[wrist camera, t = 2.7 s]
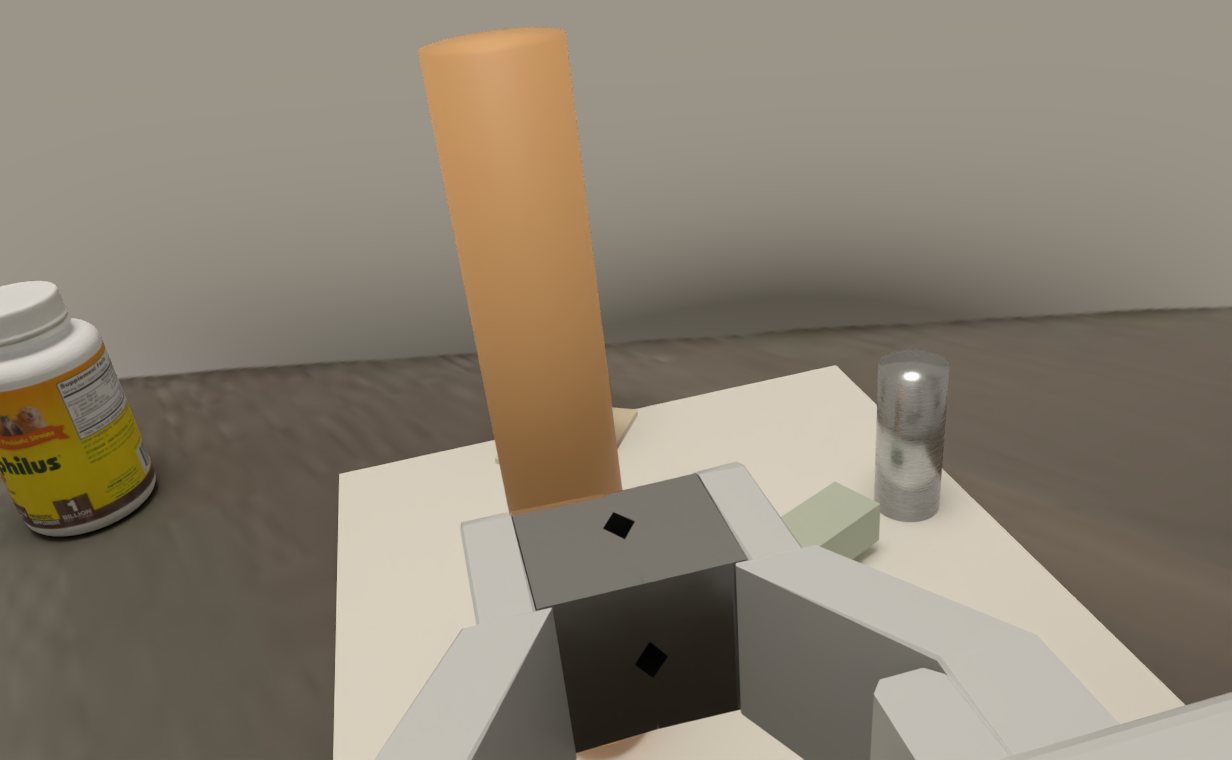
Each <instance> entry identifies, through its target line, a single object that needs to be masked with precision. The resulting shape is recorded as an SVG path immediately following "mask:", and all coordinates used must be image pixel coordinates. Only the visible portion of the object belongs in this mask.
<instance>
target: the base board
mask: <svg viewBox="0 0 1232 760" xmlns="http://www.w3.org/2000/svg"><path fill="white" fill-rule="evenodd" d="M635 410H637V411H638V416H637V418H636V419H635V421H634V423H633V424H632V426H631V428H630V429H629V431H628V433H627V434H626V436H625V438H624V439H623V441H622V443H621V444H620V446H619V448H618V449H617V450H618V458H619V466H620V474H621V482H622V490H625V489H630V488H634V487H638V486H642V485H647V484H651V483H655V482H660V481H664V480H668V479H672V478H677V477H681V476H685V475H690V474H693V473H694V472H698V471H701V470H705V469H709V468H713V467H717V466H721V465H725V464H729V463H733V462H738V463H741V464H743V465H744V466H745V467H746V469H747V470H748V472H749V473H750V474H751V476H752V477H753V479H754V480H755V482H756V483H757V484H758V486H759V487H760V489H761V490H762V491H763V493H764V494H765V496H766V497H767V498H768V500H769V501H770V503H771V504H772V506H773V507H774V508H775V510H776V511H777V513H778V514H779V515H780V517H781V516H783V515H785V514H786V513H788V512H789V511H791V510H792V509H794V508H795V507H797V506H798V505H800V504H801V503H803V502H804V501H806V500H807V499H809V498H810V497H812V496H813V495H815V494H817V493H818V492H820V491H821V490H823V489H824V488H826V487H827V486H829V485H830V484H832V483H833V482H837V483H839V484H841V485H843V486H845V487H847V488H849V489H851V490H853V491H855V492H857V493H859V494H861V495H863V496H866V497H868V498H870V499H872V500H874V483H875V451H876V420H877V405H876V404H875V403H874V402H873V401H872V400H871V399H870V398H869V397H868V396H867V395H866V394H865V393H864V392H863V391H862V390H861V389H860V388H859V387H858V386H856V385H855V384H854V383H853V382H852V381H851V380H850V379H849V378H848V377H847V376H846V375H845V374H844V373H843V372H842V371H841V370H840V369H839V368H838V367H837V366H836V365H835V366H830V367H826V368H821V369H817V370H812V371H807V372H803V373H798V374H794V375H789V376H785V377H780V378H776V379H771V380H766V381H762V382H757V383H753V384H748V385H744V386H739V387H734V388H730V389H725V390H721V391H716V392H712V393H707V394H703V395H698V396H693V397H689V398H684V399H680V400H675V401H671V402H666V403H662V404H657V405H652V406H648V407H643V408H639V409H635ZM496 456H497V449H496V444H495V440H493V441H488V442H484V443H479V444H475V445H470V446H465V447H461V448H456V449H452V450H447V451H443V452H438V453H434V454H429V455H424V456H420V457H415V458H411V459H406V460H402V461H397V462H393V463H388V464H383V465H379V466H374V467H370V468H365V469H361V470H356V471H351V472H347V473H342V474H339V515H338V562H337V609H336V656H335V702H334V749H333V760H375V758H376V757H377V755H378V754H379V752H380V751H381V749H382V748H383V746H384V745H385V743H386V742H387V740H388V739H389V737H390V736H391V734H392V733H393V731H394V730H395V728H396V727H397V725H398V724H399V722H400V721H401V719H402V718H403V716H404V715H405V713H406V712H407V710H408V709H409V707H410V706H411V704H412V703H413V701H414V700H415V698H416V697H417V695H418V694H419V692H420V691H421V689H422V688H423V686H424V685H425V683H426V682H427V680H428V679H429V677H430V676H431V674H432V673H433V671H434V670H435V668H436V667H437V665H438V664H439V662H440V661H441V659H442V658H443V656H444V655H445V653H446V652H447V650H448V649H449V647H450V646H451V644H452V643H453V641H454V640H455V638H456V637H457V635H458V634H459V632H460V631H461V629H463V628H467V627H471V626H475V625H476V620H475V614H474V608H473V602H472V596H471V591H470V585H469V579H468V573H467V567H466V561H465V555H464V549H463V543H462V537H461V531H460V528H461V522H465V521H469V520H474V519H478V518H483V517H487V516H492V515H497V514H501V513H506V512H507V513H508V514H509V510H508V505H507V500H506V495H505V490H504V485H503V480H502V475H501V470H500V465H499V464H496V463H495V457H496ZM852 560H854V561H856V562H859V563H861V564H864V565H866V566H869V567H871V568H874V569H876V570H879V571H881V572H883V573H886V574H888V575H891V576H893V577H896V578H898V579H901V580H903V581H906V582H908V583H911V584H913V585H915V586H918V587H920V588H923V589H925V590H928V591H930V592H933V593H935V594H938V595H940V596H942V597H945V598H947V599H950V600H952V601H955V602H957V603H960V604H962V605H965V606H967V607H969V608H972V609H974V610H977V611H979V612H982V613H984V614H987V615H989V616H992V617H994V618H996V619H999V620H1001V621H1004V622H1006V623H1009V624H1011V625H1014V626H1016V627H1019V628H1021V629H1024V630H1026V631H1028V632H1031V633H1033V634H1036V635H1037V636H1038V637H1039V638H1040V639H1041V640H1042V641H1043V642H1044V643H1045V644H1046V645H1047V646H1048V648H1049V649H1050V650H1051V651H1052V652H1053V653H1054V654H1055V655H1056V656H1057V657H1058V658H1059V659H1060V660H1061V661H1062V663H1063V664H1064V665H1065V666H1066V667H1067V668H1068V669H1069V670H1070V671H1071V672H1072V673H1073V674H1074V675H1075V676H1076V678H1077V679H1078V680H1079V681H1080V682H1081V683H1082V684H1083V685H1084V686H1085V687H1086V688H1087V689H1088V690H1089V692H1090V693H1091V694H1092V695H1093V696H1094V697H1095V698H1096V699H1097V700H1098V701H1099V702H1100V703H1101V704H1102V705H1103V707H1104V708H1105V709H1106V710H1107V711H1108V712H1109V713H1110V714H1111V715H1112V716H1113V717H1114V718H1115V719H1116V720H1117V722H1118V723H1119V724H1123V723H1127V722H1130V721H1133V720H1137V719H1140V718H1144V717H1147V716H1151V715H1154V714H1158V713H1161V712H1165V711H1168V710H1172V709H1175V708H1179V707H1182V706H1185V704H1184V703H1183V702H1182V701H1181V700H1180V699H1178V698H1177V697H1176V696H1175V695H1174V694H1173V693H1172V692H1171V691H1170V690H1169V689H1168V688H1167V687H1166V686H1165V685H1164V684H1163V683H1162V682H1161V681H1160V680H1159V679H1158V678H1157V677H1156V676H1155V675H1154V674H1153V673H1152V672H1151V671H1150V670H1149V669H1148V668H1147V667H1146V666H1145V665H1144V664H1142V663H1141V662H1140V661H1139V660H1138V659H1137V658H1136V657H1135V656H1134V655H1133V654H1132V653H1131V652H1130V651H1129V650H1128V649H1127V648H1126V647H1125V646H1124V645H1123V644H1122V643H1121V642H1120V641H1119V640H1118V639H1117V638H1116V637H1115V636H1114V635H1113V634H1112V633H1111V632H1110V631H1109V630H1108V629H1106V628H1105V627H1104V626H1103V625H1102V624H1101V623H1100V622H1099V621H1098V620H1097V619H1096V618H1095V617H1094V616H1093V615H1092V614H1091V613H1090V612H1089V611H1088V610H1087V609H1086V608H1085V607H1084V606H1083V605H1082V604H1081V603H1080V602H1079V601H1078V600H1077V599H1076V598H1075V597H1074V596H1073V595H1072V594H1070V593H1069V592H1068V591H1067V590H1066V589H1065V588H1064V587H1063V586H1062V585H1061V584H1060V583H1059V582H1058V581H1057V580H1056V579H1055V578H1054V577H1053V576H1052V575H1051V574H1050V573H1049V572H1048V571H1047V570H1046V569H1045V568H1044V567H1043V566H1042V565H1041V564H1040V563H1039V562H1038V561H1037V560H1035V559H1034V558H1033V557H1032V556H1031V555H1030V554H1029V553H1028V552H1027V551H1026V550H1025V549H1024V548H1023V547H1022V546H1021V545H1020V544H1019V543H1018V542H1017V541H1016V540H1015V539H1014V538H1013V537H1012V536H1011V535H1010V534H1009V533H1008V532H1007V531H1006V530H1005V529H1004V528H1003V527H1002V526H1001V525H999V524H998V523H997V522H996V521H995V520H994V519H993V518H992V517H991V516H990V515H989V514H988V513H987V512H986V511H985V510H984V509H983V508H982V507H981V506H980V505H979V504H978V503H977V502H976V501H975V500H974V499H973V498H972V497H971V496H970V495H969V494H968V493H967V492H966V491H965V490H963V489H962V488H961V487H960V486H959V485H958V484H957V483H956V482H955V481H954V480H953V479H952V478H951V477H950V476H949V475H948V474H947V473H946V472H945V471H944V470H943V469H942V476H941V490H940V503H939V510H938V512H937V513H936V514H935V515H934V516H933V517H931V518H929V519H927V520H924V521H920V522H901V521H896V520H893V519H890V518H888V517H886V516H884V515H883V514H881V513H880V526H879V540H878V541H877V542H876V543H874V544H873V545H872V546H870V547H869V548H868V549H866V550H865V551H863V552H862V553H861V554H859V555H858V556H857V557H855V558H854V559H852ZM576 757H577V759H576V760H804V759H803V758H801V757H800V756H798V755H797V754H796V753H794V752H793V751H792V750H790V749H789V748H787V747H786V746H785V745H783V744H782V743H781V742H779V741H778V740H777V739H775V738H774V737H772V736H771V735H770V734H768V733H767V732H766V731H764V730H763V729H761V728H760V727H759V726H757V725H756V724H755V723H753V722H752V721H750V720H749V719H748V718H746V717H745V716H744V715H742V714H741V710H737V711H733V712H729V713H724V714H720V715H716V716H712V717H707V718H703V719H699V720H695V721H690V722H686V723H682V724H678V725H673V726H669V727H665V728H661V729H657V730H653V731H650V732H646V733H643V734H640V735H636V736H633V737H629V738H626V739H623V740H621V741H619V742H616V743H614V744H610V745H606V746H600V747H596V748H592V749H589V750H585V751H582V752H579V753H576Z"/></svg>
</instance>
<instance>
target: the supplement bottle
mask: <svg viewBox="0 0 1232 760" xmlns="http://www.w3.org/2000/svg"><path fill="white" fill-rule="evenodd" d="M0 476H1V477H2V480H3V482H4V483H5V485H6V487H7V489H8V491H9V494H10V496H11V497H12V499H13V501H14V503H15V505H16V507H17V509H18V511H19V513H20V515H21V517H22V519H23V520H24V522H25V523H26V525H27V526H28V527H29V528H31V529H32V530H33V531H35V532H37V533H40V534H43V535H48V536H73V535H79V534H83V533H87V532H91V531H95V530H98V529H101V528H103V527H106V526H108V525H110V524H113V523H115V522H117V521H119V520H120V519H122V518H124V517H125V516H127V515H129V514H130V513H132V512H133V511H134V510H136V509H137V508H138V507H139V506H140V505H141V504H142V503H143V502H144V501H145V500H146V499H147V498H148V497H149V495H150V494H151V492H152V490H153V488H154V485H155V481H156V474H155V470H154V467H153V465H152V462H151V459H150V457H149V454H148V452H147V449H146V446H145V444H144V442H143V439H142V436H141V434H140V432H139V429H138V427H137V424H136V422H135V419H134V417H133V414H132V412H131V409H130V407H129V404H128V402H127V400H126V397H125V394H124V392H123V389H122V387H121V385H120V382H119V380H118V377H117V375H116V372H115V370H114V367H113V365H112V363H111V360H110V358H109V355H108V353H107V351H106V348H105V346H104V343H103V340H102V338H101V336H100V334H99V332H98V330H97V329H96V328H95V327H94V326H93V325H91V324H90V323H88V322H86V321H83V320H79V319H73V318H71V316H70V314H69V313H68V308H67V306H66V305H65V304H64V302H63V300H62V297H61V295H60V293H59V290H58V288H57V286H55V285H54V284H53V283H50V282H45V281H30V282H22V283H15V284H10V285H6V286H2V287H0Z"/></svg>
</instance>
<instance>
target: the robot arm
mask: <svg viewBox="0 0 1232 760" xmlns="http://www.w3.org/2000/svg"><path fill="white" fill-rule="evenodd" d="M510 513H511V516H510V515H509V514H508V513H507V512H506V513H501V514H497V515H492V516H487V517H483V518H478V519H474V520H469V521H465V522H461V528H460V531H461V537H462V543H463V549H464V555H465V561H466V567H467V573H468V579H469V585H470V591H471V596H472V602H473V608H474V614H475V620H476V625H475V626H471V627H467V628H463V629H461V631H460V632H459V634H458V635H457V637H456V638H455V640H454V641H453V643H452V644H451V646H450V647H449V649H448V650H447V652H446V653H445V655H444V656H443V658H442V659H441V661H440V662H439V664H438V665H437V667H436V668H435V670H434V671H433V673H432V674H431V676H430V677H429V679H428V680H427V682H426V683H425V685H424V686H423V688H422V689H421V691H420V692H419V694H418V695H417V697H416V698H415V700H414V701H413V703H412V704H411V706H410V707H409V709H408V710H407V712H406V713H405V715H404V716H403V718H402V719H401V721H400V722H399V724H398V725H397V727H396V728H395V730H394V731H393V733H392V734H391V736H390V737H389V739H388V740H387V742H386V743H385V745H384V746H383V748H382V749H381V751H380V752H379V754H378V755H377V757H376V758H375V760H576V759H577V757H576V753H579V752H582V751H585V750H589V749H592V748H596V747H599V746H602V745H606V744H609V743H612V742H616V741H619V740H623V739H626V738H629V737H633V736H636V735H640V734H643V733H646V732H650V731H653V730H657V729H661V728H665V727H669V726H673V725H678V724H682V723H686V722H690V721H695V720H699V719H703V718H707V717H712V716H716V715H720V714H724V713H729V712H733V711H737V710H741V714H742V715H744V716H745V717H746V718H748V719H749V720H750V721H752V722H753V723H755V724H756V725H757V726H759V727H760V728H761V729H763V730H764V731H766V732H767V733H768V734H770V735H771V736H772V737H774V738H775V739H777V740H778V741H779V742H781V743H782V744H783V745H785V746H786V747H787V748H789V749H790V750H792V751H793V752H794V753H796V754H797V755H798V756H800V757H801V758H803V759H804V760H1232V692H1230V693H1226V694H1223V695H1220V696H1216V697H1213V698H1209V699H1206V700H1203V701H1199V702H1196V703H1192V704H1189V705H1185V706H1182V707H1179V708H1175V709H1172V710H1168V711H1165V712H1161V713H1158V714H1154V715H1151V716H1147V717H1144V718H1140V719H1137V720H1133V721H1130V722H1127V723H1123V724H1119V723H1118V722H1117V720H1116V719H1115V718H1114V717H1113V716H1112V715H1111V714H1110V713H1109V712H1108V711H1107V710H1106V709H1105V708H1104V707H1103V705H1102V704H1101V703H1100V702H1099V701H1098V700H1097V699H1096V698H1095V697H1094V696H1093V695H1092V694H1091V693H1090V692H1089V690H1088V689H1087V688H1086V687H1085V686H1084V685H1083V684H1082V683H1081V682H1080V681H1079V680H1078V679H1077V678H1076V676H1075V675H1074V674H1073V673H1072V672H1071V671H1070V670H1069V669H1068V668H1067V667H1066V666H1065V665H1064V664H1063V663H1062V661H1061V660H1060V659H1059V658H1058V657H1057V656H1056V655H1055V654H1054V653H1053V652H1052V651H1051V650H1050V649H1049V648H1048V646H1047V645H1046V644H1045V643H1044V642H1043V641H1042V640H1041V639H1040V638H1039V637H1038V636H1037V635H1036V634H1033V633H1031V632H1028V631H1026V630H1024V629H1021V628H1019V627H1016V626H1014V625H1011V624H1009V623H1006V622H1004V621H1001V620H999V619H996V618H994V617H992V616H989V615H987V614H984V613H982V612H979V611H977V610H974V609H972V608H969V607H967V606H965V605H962V604H960V603H957V602H955V601H952V600H950V599H947V598H945V597H942V596H940V595H938V594H935V593H933V592H930V591H928V590H925V589H923V588H920V587H918V586H915V585H913V584H911V583H908V582H906V581H903V580H901V579H898V578H896V577H893V576H891V575H888V574H886V573H883V572H881V571H879V570H876V569H874V568H871V567H869V566H866V565H864V564H861V563H859V562H856V561H854V560H852V559H849V558H847V557H844V556H842V555H839V554H837V553H834V552H832V551H829V550H827V549H825V548H822V547H820V546H817V545H813V546H808V547H804V548H802V546H801V545H800V544H799V542H798V541H797V539H796V538H795V537H794V535H793V534H792V532H791V531H790V529H789V528H788V527H787V525H786V524H785V522H784V521H783V520H782V518H781V517H780V515H779V514H778V513H777V511H776V510H775V508H774V507H773V506H772V504H771V503H770V501H769V500H768V498H767V497H766V496H765V494H764V493H763V491H762V490H761V489H760V487H759V486H758V484H757V483H756V482H755V480H754V479H753V477H752V476H751V474H750V473H749V472H748V470H747V469H746V467H745V466H744V465H743V464H741V463H738V462H733V463H729V464H725V465H721V466H717V467H713V468H709V469H705V470H701V471H698V472H694V473H693V474H690V475H685V476H681V477H677V478H672V479H668V480H664V481H660V482H655V483H651V484H647V485H642V486H638V487H634V488H630V489H625V490H621V491H617V492H612V493H608V494H604V493H603V494H598V495H593V496H588V497H583V498H577V499H572V500H567V501H562V502H557V503H552V504H547V505H542V506H537V507H532V508H527V509H521V510H516V511H511V512H510Z"/></svg>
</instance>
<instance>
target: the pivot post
mask: <svg viewBox="0 0 1232 760" xmlns="http://www.w3.org/2000/svg"><path fill="white" fill-rule="evenodd" d="M948 379H949V364H948V362H947V361H946V360H945V359H944V358H943V357H941V356H939V355H937V354H935V353H932V352H928V351H922V350H901V351H896V352H892V353H889V354H887V355H885V356H883V357H882V358H881V359H880V361H879V363H878V388H877V420H876V451H875V483H874V501H876V502H878V503H880V513H881V514H883V515H884V516H886V517H888V518H890V519H893V520H896V521H901V522H920V521H924V520H927V519H929V518H931V517H933V516H934V515H935V514H936V513H937V512H938V510H939V503H940V490H941V476H942V462H943V448H944V435H945V421H946V407H947V393H948Z"/></svg>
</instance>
